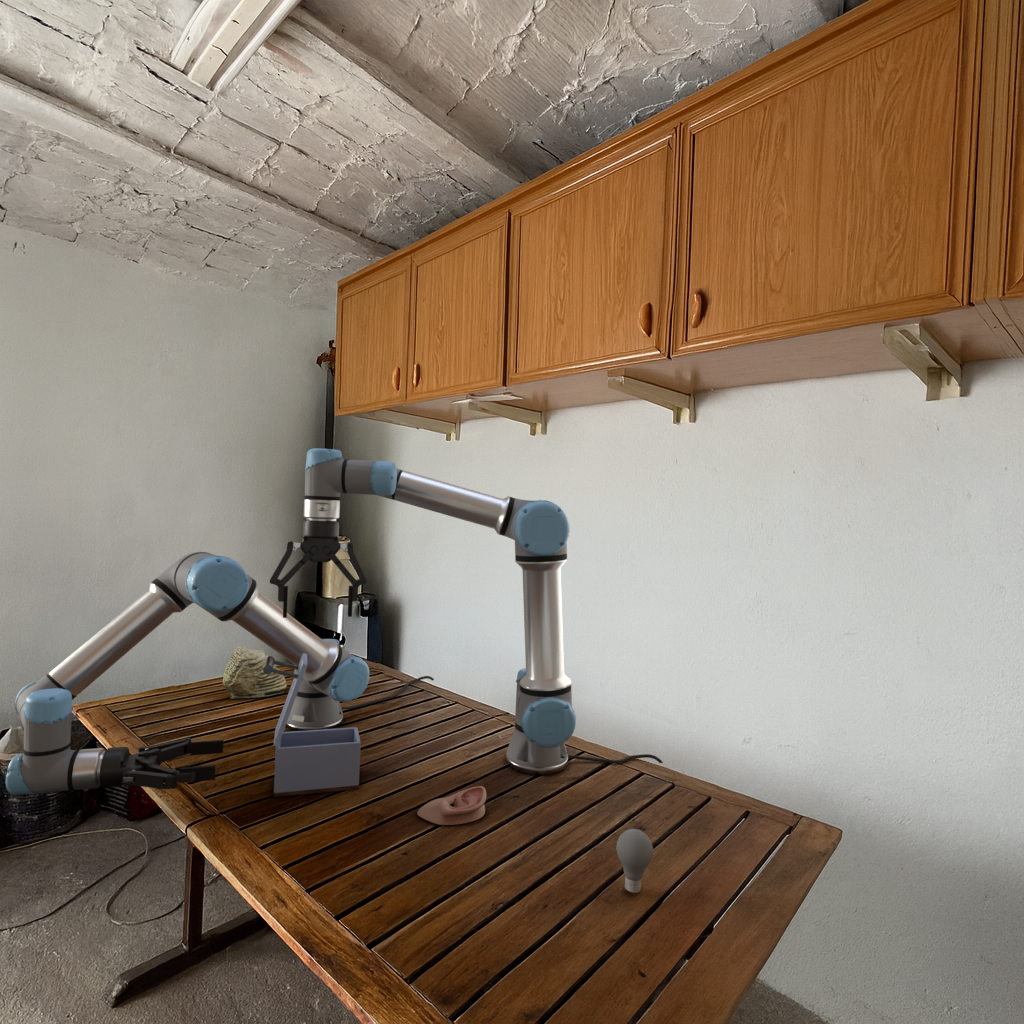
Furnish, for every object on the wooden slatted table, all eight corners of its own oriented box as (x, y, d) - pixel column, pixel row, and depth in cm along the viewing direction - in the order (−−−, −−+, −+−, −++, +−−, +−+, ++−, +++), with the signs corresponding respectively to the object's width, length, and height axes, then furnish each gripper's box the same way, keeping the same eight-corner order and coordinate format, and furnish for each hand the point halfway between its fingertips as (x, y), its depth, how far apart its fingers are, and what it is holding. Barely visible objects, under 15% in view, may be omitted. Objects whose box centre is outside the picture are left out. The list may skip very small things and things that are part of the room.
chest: (355, 770, 147) (357, 727, 147) (358, 788, 138) (360, 742, 138) (275, 777, 142) (277, 732, 142) (273, 797, 133) (275, 749, 133)
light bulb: (610, 879, 108) (613, 822, 108) (644, 879, 109) (647, 822, 109) (619, 902, 102) (622, 840, 102) (655, 901, 103) (658, 840, 103)
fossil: (218, 695, 195) (220, 647, 195) (278, 685, 208) (279, 640, 207) (228, 703, 189) (230, 653, 188) (289, 692, 201) (290, 645, 201)
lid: (307, 654, 143) (270, 644, 141) (307, 665, 134) (268, 655, 132) (279, 730, 142) (242, 722, 139) (278, 746, 133) (238, 738, 130)
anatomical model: (412, 801, 125) (431, 776, 136) (411, 820, 125) (430, 795, 136) (477, 810, 122) (491, 784, 134) (476, 830, 122) (490, 803, 134)
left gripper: (120, 761, 139) (225, 753, 146) (82, 816, 115) (210, 804, 122) (121, 727, 139) (226, 720, 145) (83, 775, 115) (211, 765, 122)
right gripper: (259, 518, 131) (255, 620, 132) (381, 522, 139) (377, 618, 139) (261, 517, 138) (257, 613, 139) (377, 520, 146) (373, 612, 146)
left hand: (219, 758), depth 134 cm, fingers open, 13 cm apart
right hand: (317, 616), depth 139 cm, fingers open, 13 cm apart
